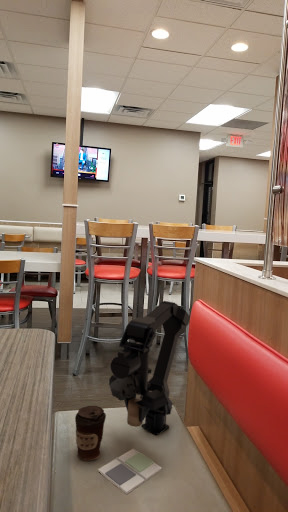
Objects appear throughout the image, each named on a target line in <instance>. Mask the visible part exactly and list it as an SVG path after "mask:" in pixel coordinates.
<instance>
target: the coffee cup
mask: <svg viewBox="0 0 288 512" xmlns="http://www.w3.org/2000/svg"><path fill="white" fill-rule="evenodd" d="M106 417H107V415H106V413H105V410H104V409H103V408H102V407H101V406H98V405H87V406H84V407H80V408H79V409H78V411H77V413H76V414H75V416H74V418H75V419H74V421H75V436H76V437H75V442H76V443H75V444H76V447H77V452H76V453H77V457H78V459H80V460H83V461H86V462H87V461H95V460H97V459H99V458H100V456H101V450H100V449H101V444H102V440H103V436H104V428H105V427H104V425H105V422H106V419H107V418H106Z"/></svg>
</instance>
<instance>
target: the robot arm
mask: <svg viewBox="0 0 288 512" xmlns="http://www.w3.org/2000/svg"><path fill="white" fill-rule="evenodd" d="M189 323H190V315H189V313H188V312H187V310H185V309H183V308H181V307H180V306H179V305H178V303H176V302H173V301H167V300H162V301H160V302H159V305H158V306H156V308H154V309H153V310H152V311H150V312H149V313H147V315H145V316H141V317H136V318H133V319H131V320H130V321H128V323H127V325H126V327H125V329H124V332H123V334H122V337H121V339H120V342H119V347H120V348H122V349H121V350H119V351H118V352H117V356H115V357H114V358H113V359H112V360H111V363H110V365H109V366H110V370H111V373H112V375H111V376H110V378H109V381H108V382H109V383H108V385H109V389H110V392H111V396H112V397H114V398H115V399H118V401H120V402H121V401H123V402H124V404H125V408H126V411H127V413H128V401H129V400H130V399H134V398H136V399H137V395H138V396H139V399H141V400H140V401H138V402H136V404H137V405H138V406H139V422H142V421H143V422H144V423H142V425H141V427H142V429H144V430H146V431H148V432H149V433H151V434H152V435H155V436H158V435H160V434H161V433H163V432H164V431H167V430H168V429H170V425H168V424H167V423H166V422H167V416H168V415H171V414H172V409H173V401H172V400H171V399H170V389H169V385H168V378H169V375H170V371H171V367H172V364H173V359H174V356H175V351H176V348H177V345H178V340H179V338H180V337H181V336H182V335H183V334H184V333H186V330H187V326H188V325H189ZM160 327H162V328H163V331H164V334H163V338H162V340H161V345H160V349H159V353H158V356H157V360H156V364H155V366H154V367H155V368H154V371H153V373H152V368H150V367H149V365H150V364H149V363H150V353H151V352H150V349H151V347H153V342H154V339H155V338H156V335H157V334H156V333H157V332H156V331H157V330H158V329H159V328H160ZM131 341H132V342H131ZM149 374H152V377H150V379H149Z"/></svg>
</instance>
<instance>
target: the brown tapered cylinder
mask: <svg viewBox="0 0 288 512" xmlns="http://www.w3.org/2000/svg"><path fill="white" fill-rule="evenodd" d="M140 400H141V399H140V398H137V397H136V398H134V399H130V400H129V401H128V412H127V419H126V420H127V421H126V423H127V425H129V426H130V427H135V428H137V427H140V426H142V425H143V424H144V423H143V422H144V420H143V421H142V422H139V406H138V405H137V404H136V402H138V401H140Z"/></svg>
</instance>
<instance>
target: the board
mask: <svg viewBox="0 0 288 512" xmlns="http://www.w3.org/2000/svg"><path fill="white" fill-rule="evenodd" d="M162 470H163V467H161V466H160V465H158V464H157V463H155V461H153V460H152V459H150V458H149V457H148V456H146V455H144V454H143V453H141V452H139V451H137V450H136V449H135V448H131V450H129V451H127V452H125V453H123V454H122V455H120V456H115V459H113V460H111V461H109V462H108V463H106V464H105V465H103V466H101V467H99V468H97V473H99V472H100V473H101V475H102V476H103V477H104V478H105V479H106V480H108V481H109V482H111V483H112V484H113V485H114V486H115V487H117V488H118V489H119V490H120V491H121V492H122V493H124V494H125V495H128V494H130V492H132V491H134V490H135V489H137V488H138V487H140V486H141V485H143V484H144V483H145V482H147V481H148V480H149V479H151V478H152V477H154V476H155V475H157V474H159V473H160V472H161V471H162ZM100 473H99V474H100Z"/></svg>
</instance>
